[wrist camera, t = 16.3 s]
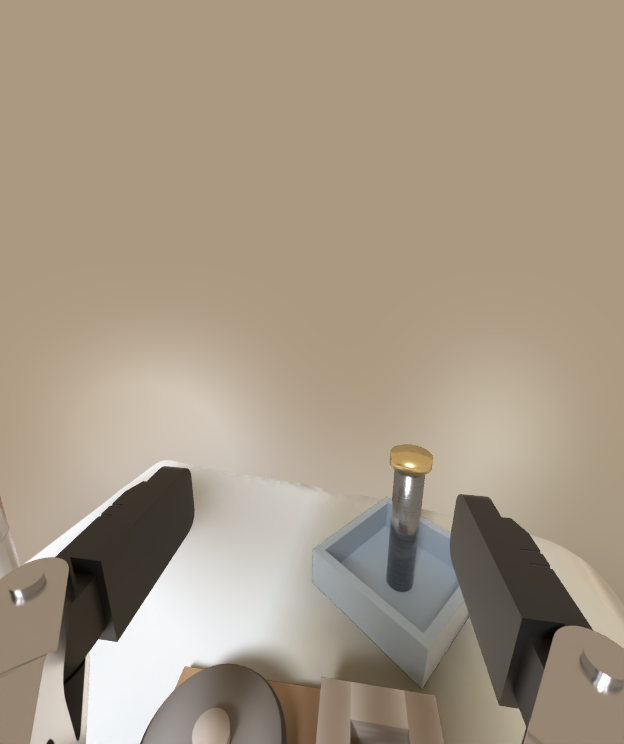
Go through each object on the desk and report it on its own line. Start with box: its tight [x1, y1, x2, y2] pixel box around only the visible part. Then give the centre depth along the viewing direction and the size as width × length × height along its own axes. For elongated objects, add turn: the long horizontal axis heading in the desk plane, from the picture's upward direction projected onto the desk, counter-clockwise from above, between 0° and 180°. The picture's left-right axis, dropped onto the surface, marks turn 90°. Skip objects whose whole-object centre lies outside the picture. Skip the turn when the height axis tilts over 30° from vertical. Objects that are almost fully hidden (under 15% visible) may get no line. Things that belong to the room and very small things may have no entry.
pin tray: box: [312, 497, 469, 689], centre depth 40 cm, size 15×15×5 cm
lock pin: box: [386, 445, 433, 592], centre depth 38 cm, size 4×4×17 cm
